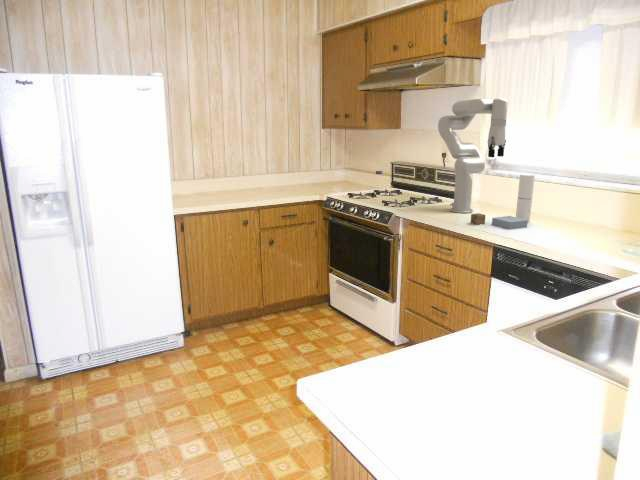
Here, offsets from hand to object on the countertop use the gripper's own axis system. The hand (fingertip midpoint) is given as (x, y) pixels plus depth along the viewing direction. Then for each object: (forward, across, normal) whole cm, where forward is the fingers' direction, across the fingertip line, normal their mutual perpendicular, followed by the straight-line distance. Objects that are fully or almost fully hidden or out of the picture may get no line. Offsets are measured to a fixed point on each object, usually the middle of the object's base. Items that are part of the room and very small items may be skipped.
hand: (495, 156), depth 261 cm
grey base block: (+35, +6, +14) cm, 38 cm away
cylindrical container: (+34, -9, +13) cm, 38 cm away
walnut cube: (+34, +14, 0) cm, 37 cm away
